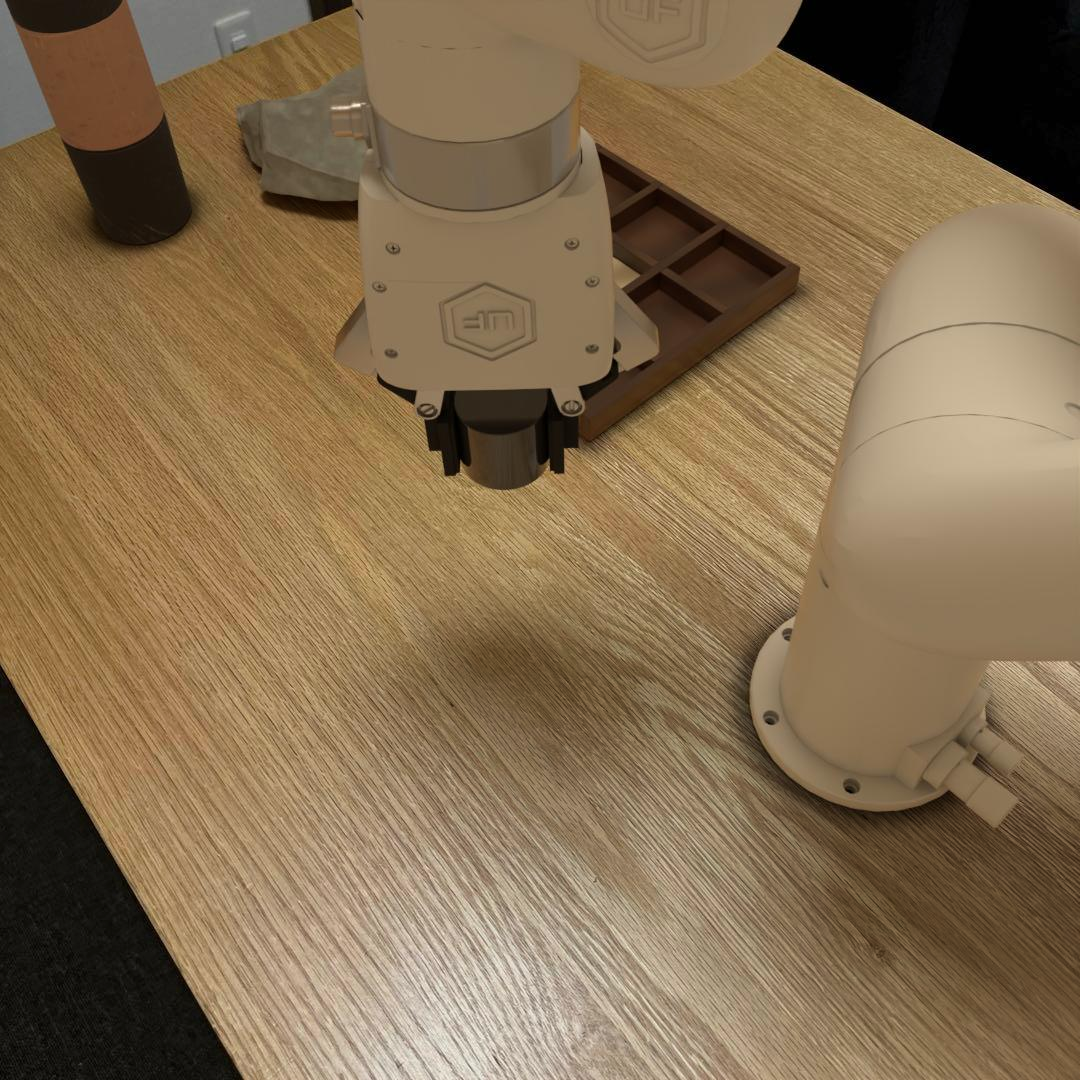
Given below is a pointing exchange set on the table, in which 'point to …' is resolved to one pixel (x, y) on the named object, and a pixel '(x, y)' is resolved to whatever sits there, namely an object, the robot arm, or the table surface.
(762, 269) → the board
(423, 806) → the table surface
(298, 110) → the rock
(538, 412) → the dark cylinder
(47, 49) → the travel mug
